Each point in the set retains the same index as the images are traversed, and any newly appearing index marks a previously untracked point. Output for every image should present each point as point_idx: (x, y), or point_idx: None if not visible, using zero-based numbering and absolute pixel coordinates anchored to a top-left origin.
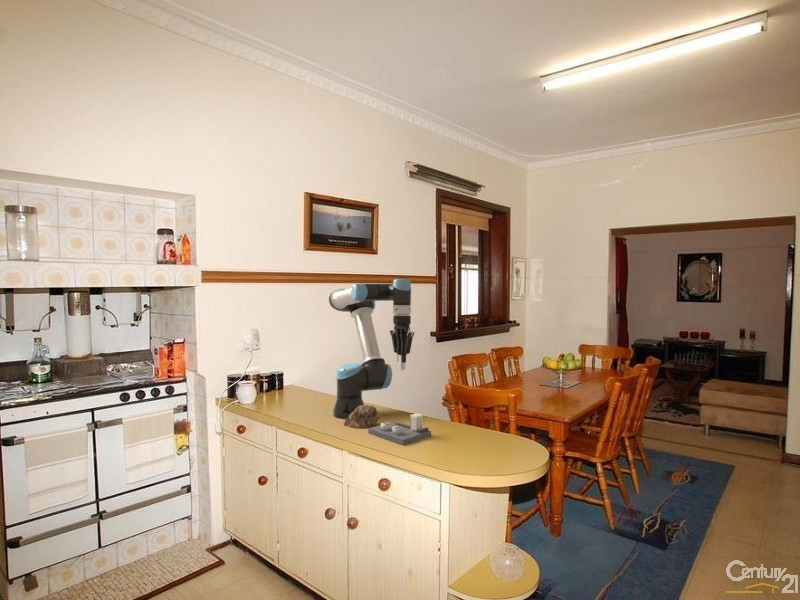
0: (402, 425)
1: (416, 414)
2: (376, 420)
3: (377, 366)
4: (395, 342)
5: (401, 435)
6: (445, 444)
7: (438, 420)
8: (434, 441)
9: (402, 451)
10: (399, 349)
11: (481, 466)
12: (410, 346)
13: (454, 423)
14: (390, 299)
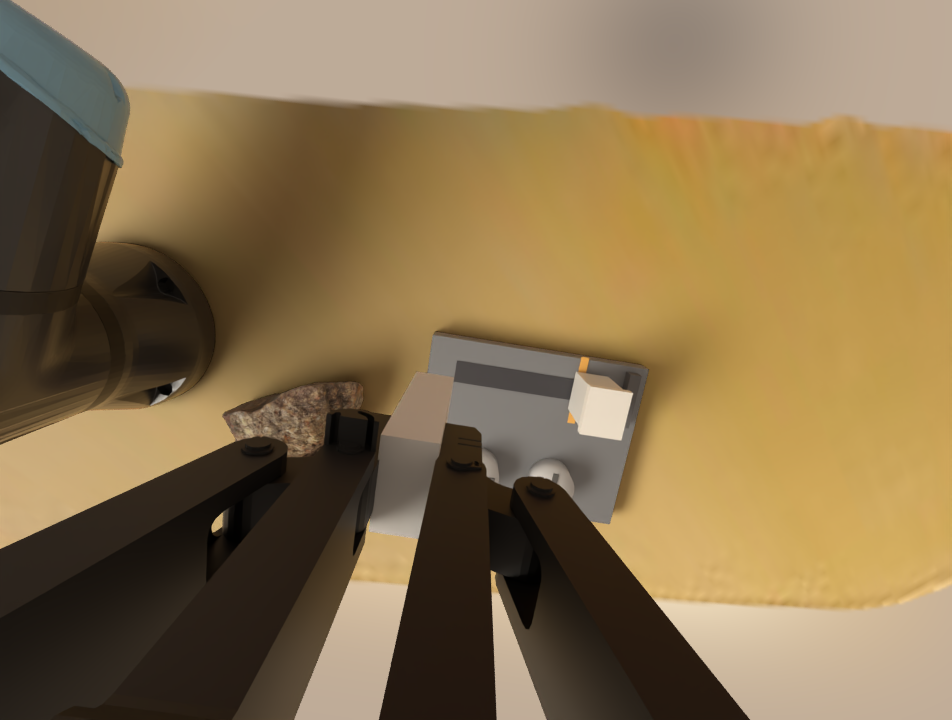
0: (500, 379)
1: (600, 407)
2: (358, 392)
3: None
4: (100, 669)
5: (576, 486)
6: (737, 415)
7: (548, 126)
8: (684, 411)
9: (638, 559)
10: (348, 572)
11: (926, 523)
12: (632, 597)
13: (643, 122)
14: None
